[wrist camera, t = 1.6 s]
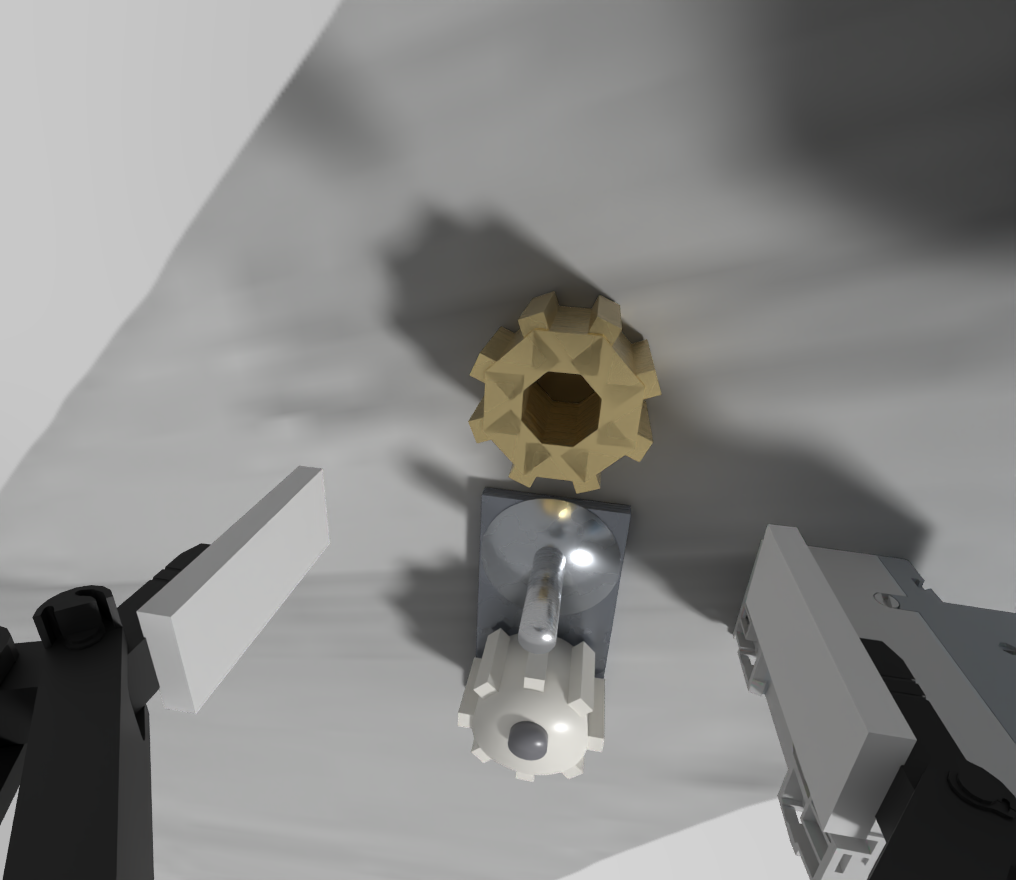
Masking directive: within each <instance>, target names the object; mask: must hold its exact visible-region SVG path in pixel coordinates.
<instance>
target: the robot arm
mask: <svg viewBox="0 0 1016 880" xmlns="http://www.w3.org/2000/svg"><path fill="white" fill-rule="evenodd" d="M329 544H330V538H329V528H328V518H327V508H326V498H325V488H324V478H323V469H321V468H313V467H305V466H298V467H297V468H296V469H295V470H294V471H293V472H292V473H291V474H290V475H288V476H287V477H286V478H285V479H284V480H283V481H282V482H281V483H279V484H278V485H277V486H276V487H275V488H274V489H273V490H272V491H271V492H269V493H268V494H267V495H266V496H265V497H264V498H263V499H262V500H260V501H259V502H258V503H257V504H256V505H255V506H254V507H253V508H251V509H250V510H249V511H248V512H247V513H246V514H245V515H244V516H243V517H241V518H240V519H239V520H238V521H237V522H236V523H235V524H234V525H232V526H231V527H230V528H229V529H228V530H227V531H226V532H225V533H224V534H222V535H221V536H220V537H219V538H218V539H217V540H216V541H215V542H213V543H212V544H211V545H209V544H202V543H201V544H199V545H197V546H195V547H193V548H191V549H189V550H187V551H185V552H183V553H181V554H180V555H179V556H178V557H176V558H175V559H174V560H173V561H172V562H170V563H169V564H168V565H167V566H166V567H165V570H164V569H162V570H161V571H160V572H159V573H158V574H156V575H155V576H154V577H153V580H149V581H148V582H147V583H146V584H145V585H143V586H142V587H141V588H140V589H139V590H138V591H136V592H135V593H134V594H133V595H132V596H131V597H129V598H128V599H127V600H126V601H125V602H123V603H122V604H121V605H120V606H119V607H118V608H116V604H115V601H114V598H113V595H112V592H111V590H110V589H108V588H106V587H103V586H94V585H90V586H83V587H77V588H74V589H71V590H68V591H65V592H62V593H60V594H58V595H56V596H54V597H52V598H50V599H49V600H47V601H46V602H45V603H43V604H42V605H41V606H40V607H39V608H38V609H37V610H36V612H35V614H34V616H33V620H34V622H35V625H36V627H37V630H38V633H39V635H40V638H41V640H42V641H37V642H26V643H15V644H14V642H13V639H12V637H11V634H10V633H9V631H8V629H7V628H4V627H1V626H0V825H1V822H2V820H3V818H4V816H5V814H6V812H7V810H8V808H9V806H10V804H11V801H12V800H13V798H14V796H15V794H16V792H17V789H18V787H19V785H20V787H19V793H18V799H17V804H16V809H15V815H14V820H13V826H12V831H11V837H10V842H9V847H8V853H7V859H6V864H5V869H4V875H3V880H154V867H153V832H152V797H151V762H150V727H149V712H148V709H147V705H146V703H147V702H148V700H149V699H150V698H151V697H152V696H153V695H154V694H155V693H156V692H157V690H158V689H159V691H160V695H161V698H162V702H163V705H164V708H166V709H171V710H177V711H182V712H187V713H193V714H196V713H197V712H198V711H199V709H200V708H201V707H202V706H203V704H204V703H205V702H206V701H207V699H208V698H209V697H210V695H211V694H212V693H213V692H214V690H215V689H216V688H217V687H218V685H219V684H220V683H221V681H222V680H223V679H224V678H225V676H226V675H227V674H228V673H229V671H230V670H231V669H232V667H233V666H234V665H235V664H236V662H237V661H238V660H239V659H240V657H241V656H242V655H243V653H244V652H245V651H246V650H247V648H248V647H249V646H250V645H251V643H252V642H253V641H254V639H255V638H256V637H257V636H258V634H259V633H260V632H261V630H262V629H263V628H264V627H265V625H266V624H267V623H268V622H269V620H270V619H271V618H272V616H273V615H274V614H275V613H276V611H277V610H278V609H279V608H280V606H281V605H282V604H283V602H284V601H285V600H286V599H287V597H288V596H289V595H290V594H291V592H292V591H293V590H294V588H295V587H296V586H297V585H298V583H299V582H300V581H301V580H302V578H303V577H304V576H305V574H306V573H307V572H308V571H309V569H310V568H311V567H312V566H313V564H314V563H315V562H316V560H317V559H318V558H319V557H320V555H321V554H322V553H323V552H324V550H325V549H326V548H327V546H328V545H329ZM746 605H747V608H748V611H749V614H750V617H751V620H752V623H753V626H754V629H755V632H756V634H757V637H758V640H759V643H760V646H761V649H762V652H763V655H764V658H765V661H766V664H767V667H768V670H769V673H770V676H771V679H772V682H773V685H774V688H775V691H776V694H777V697H778V700H779V703H780V705H781V708H782V711H783V714H784V717H785V720H786V723H787V726H788V729H789V732H790V735H791V738H792V741H793V744H794V747H795V750H796V753H797V756H798V759H799V762H800V765H801V768H802V771H803V774H804V776H805V779H806V782H807V785H808V788H809V791H810V794H811V797H812V800H813V803H814V806H815V809H816V812H817V815H818V818H819V821H820V824H821V827H822V830H823V832H828V833H833V834H838V835H844V836H849V837H854V838H860V839H865V840H866V838H867V836H868V834H869V832H870V830H871V828H872V827H873V825H874V823H875V821H876V820H877V823H878V825H879V827H880V830H881V832H882V834H883V837H884V839H885V841H886V844H885V846H884V847H883V849H882V851H881V853H880V855H879V857H878V859H877V860H876V862H875V864H874V866H873V868H872V870H871V872H870V873H869V875H868V878H867V880H1016V797H1015V796H1014V795H1013V794H1012V792H1011V791H1010V790H1009V789H1008V788H1007V787H1006V786H1005V785H1004V784H1003V783H1002V782H1001V781H1000V780H999V779H997V778H996V777H994V776H993V775H992V774H990V773H989V772H988V771H986V770H985V769H984V768H982V767H979V766H977V765H975V764H973V763H971V762H969V761H967V760H966V758H965V757H964V755H963V754H962V752H961V751H960V749H959V747H958V746H957V744H956V743H955V741H954V739H953V738H952V736H951V735H950V733H949V732H948V730H947V728H946V727H945V725H944V724H943V722H942V721H941V719H940V717H939V716H938V714H937V713H936V711H935V709H934V708H933V706H932V705H931V703H930V702H929V700H926V695H925V694H924V692H923V690H922V689H921V687H920V686H919V684H917V683H916V682H915V681H916V679H915V678H914V676H913V675H912V673H911V672H910V670H909V668H908V667H907V665H906V664H905V662H904V660H903V659H902V658H901V657H899V656H898V655H897V654H896V653H895V652H894V651H893V650H892V649H891V648H890V647H888V646H887V645H886V644H885V643H884V642H883V641H879V640H872V639H865V638H859V637H858V635H857V633H856V631H855V630H854V628H853V626H852V624H851V623H850V621H849V619H848V617H847V615H846V614H845V612H844V610H843V608H842V607H841V605H840V603H839V601H838V600H837V598H836V596H835V594H834V592H833V591H832V589H831V587H830V585H829V584H828V582H827V580H826V578H825V577H824V575H823V573H822V571H821V569H820V568H819V566H818V564H817V562H816V561H815V559H814V557H813V555H812V554H811V552H810V550H809V548H808V546H807V545H806V543H805V541H804V539H803V538H802V536H801V534H800V532H799V531H798V529H797V527H789V526H781V525H773V524H768V525H767V528H766V532H765V535H764V539H763V542H762V546H761V549H760V553H759V556H758V560H757V563H756V567H755V570H754V574H753V577H752V581H751V584H750V588H749V591H748V595H747V598H746Z"/></svg>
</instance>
